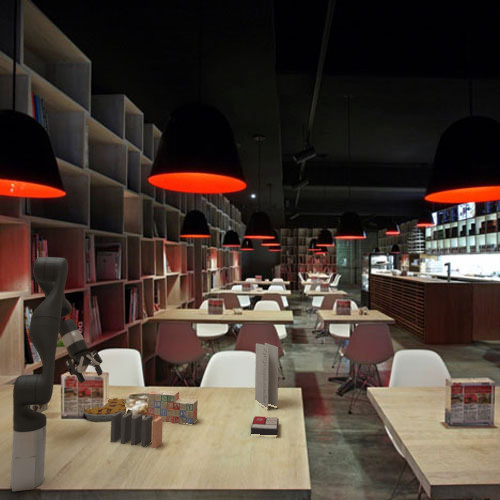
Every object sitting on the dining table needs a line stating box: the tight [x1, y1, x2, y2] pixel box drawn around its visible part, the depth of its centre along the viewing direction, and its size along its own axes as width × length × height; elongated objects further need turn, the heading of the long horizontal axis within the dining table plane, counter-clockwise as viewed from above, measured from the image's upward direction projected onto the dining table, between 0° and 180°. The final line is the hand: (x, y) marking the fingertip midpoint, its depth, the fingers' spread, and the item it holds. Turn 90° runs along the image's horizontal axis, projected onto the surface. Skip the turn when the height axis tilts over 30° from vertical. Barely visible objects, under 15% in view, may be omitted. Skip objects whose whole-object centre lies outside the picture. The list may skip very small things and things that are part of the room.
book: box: [250, 415, 280, 436], centre depth 171 cm, size 11×4×15 cm
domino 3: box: [130, 413, 143, 446], centre depth 157 cm, size 2×5×10 cm, turn 164°
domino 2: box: [120, 412, 133, 445], centre depth 158 cm, size 2×5×10 cm, turn 164°
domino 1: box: [110, 412, 122, 443], centre depth 160 cm, size 2×5×10 cm, turn 164°
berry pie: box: [82, 397, 126, 422], centre depth 188 cm, size 22×22×5 cm
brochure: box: [254, 342, 279, 409], centre depth 204 cm, size 14×6×30 cm, turn 25°
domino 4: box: [140, 414, 153, 448], centre depth 156 cm, size 2×5×10 cm, turn 164°
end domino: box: [151, 417, 163, 449], centre depth 155 cm, size 2×5×10 cm, turn 164°
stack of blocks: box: [147, 389, 199, 425], centre depth 181 cm, size 21×6×12 cm, turn 77°
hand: (92, 378), depth 164 cm, fingers open, 8 cm apart
